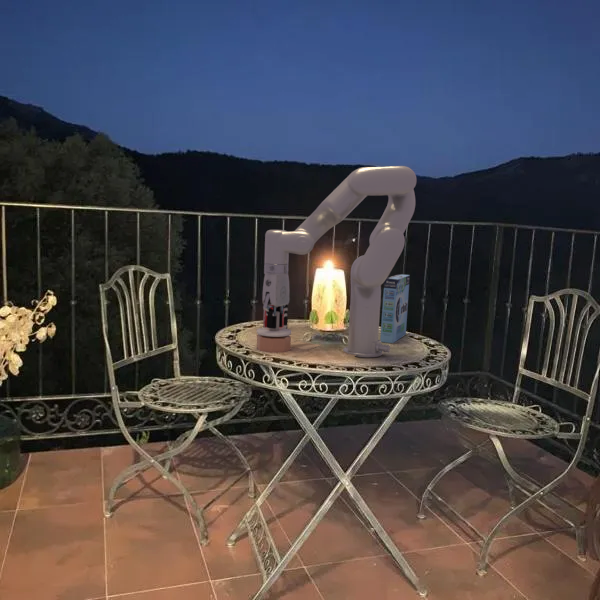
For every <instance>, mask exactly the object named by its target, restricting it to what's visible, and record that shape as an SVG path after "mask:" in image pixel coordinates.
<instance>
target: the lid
mask: <svg viewBox="0 0 600 600" xmlns="http://www.w3.org/2000/svg"><path fill="white" fill-rule="evenodd" d="M275 316H277V321H276V328H275V329H273V328H267V327H265V328H263V327H259V328H257V329H256V334H257V335H262V336H270V337H283V336H291V335H292V330H291V329H289V328H287V329H286V328H279V317H280V312H279V311H276V315H275Z"/></svg>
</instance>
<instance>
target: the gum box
mask: <svg viewBox="0 0 600 600" xmlns="http://www.w3.org/2000/svg"><path fill="white" fill-rule="evenodd" d="M410 275H411V274H403V273H401V274H399V273H398V274H395V275H392V276H388V277H387V278H386V280H385V281H384V283H383V295H382V296H383V297H382V309H381V311H382V313H381V324H380V325H381V326H380V339H379V340H381V343H386V344H394V343H395V342H397V341H398V340H400V339H401V338H402V337H404V336H405V335H406V334H407V322H408V320H407V319H408V306H409V290H410V281H411V279H410V278H411V276H410Z"/></svg>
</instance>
